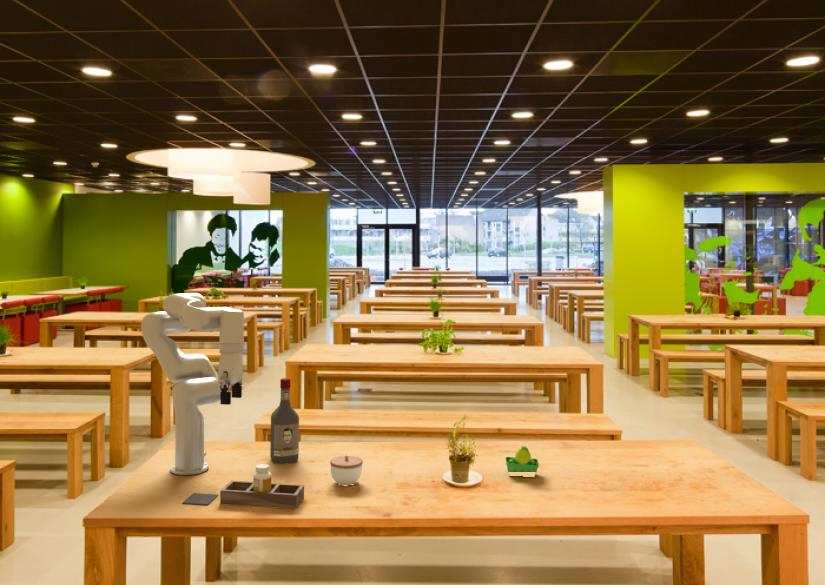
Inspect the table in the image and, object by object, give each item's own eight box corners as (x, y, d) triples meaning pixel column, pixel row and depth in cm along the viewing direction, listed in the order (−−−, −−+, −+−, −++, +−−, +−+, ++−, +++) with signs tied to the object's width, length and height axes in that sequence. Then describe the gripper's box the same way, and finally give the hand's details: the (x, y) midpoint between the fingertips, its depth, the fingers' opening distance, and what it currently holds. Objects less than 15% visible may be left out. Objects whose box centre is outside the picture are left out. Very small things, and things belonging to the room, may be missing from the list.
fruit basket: (536, 472, 241) (538, 441, 240) (539, 480, 232) (540, 448, 232) (504, 470, 242) (505, 439, 242) (505, 478, 234) (506, 446, 233)
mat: (193, 494, 212) (193, 493, 212) (218, 495, 211) (218, 494, 211) (182, 503, 204) (182, 502, 204) (207, 505, 203) (207, 504, 203)
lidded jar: (357, 490, 219) (357, 461, 218) (325, 487, 221) (326, 459, 220) (365, 479, 229) (366, 452, 229) (335, 476, 232) (336, 449, 231)
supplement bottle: (272, 493, 210) (272, 463, 210) (269, 500, 205) (270, 469, 204) (255, 493, 210) (255, 463, 210) (251, 500, 205) (252, 468, 204)
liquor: (269, 457, 250) (270, 377, 248) (293, 455, 254) (294, 376, 252) (274, 465, 242) (275, 382, 240) (299, 462, 246) (301, 380, 244)
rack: (231, 493, 213) (231, 480, 213) (304, 498, 211) (304, 484, 211) (220, 504, 204) (220, 490, 204) (296, 509, 202) (296, 495, 202)
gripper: (230, 343, 225) (229, 394, 226) (209, 351, 208) (209, 406, 209) (252, 344, 224) (251, 395, 225) (233, 352, 207) (232, 407, 208)
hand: (231, 400), depth 217 cm, fingers open, 9 cm apart
